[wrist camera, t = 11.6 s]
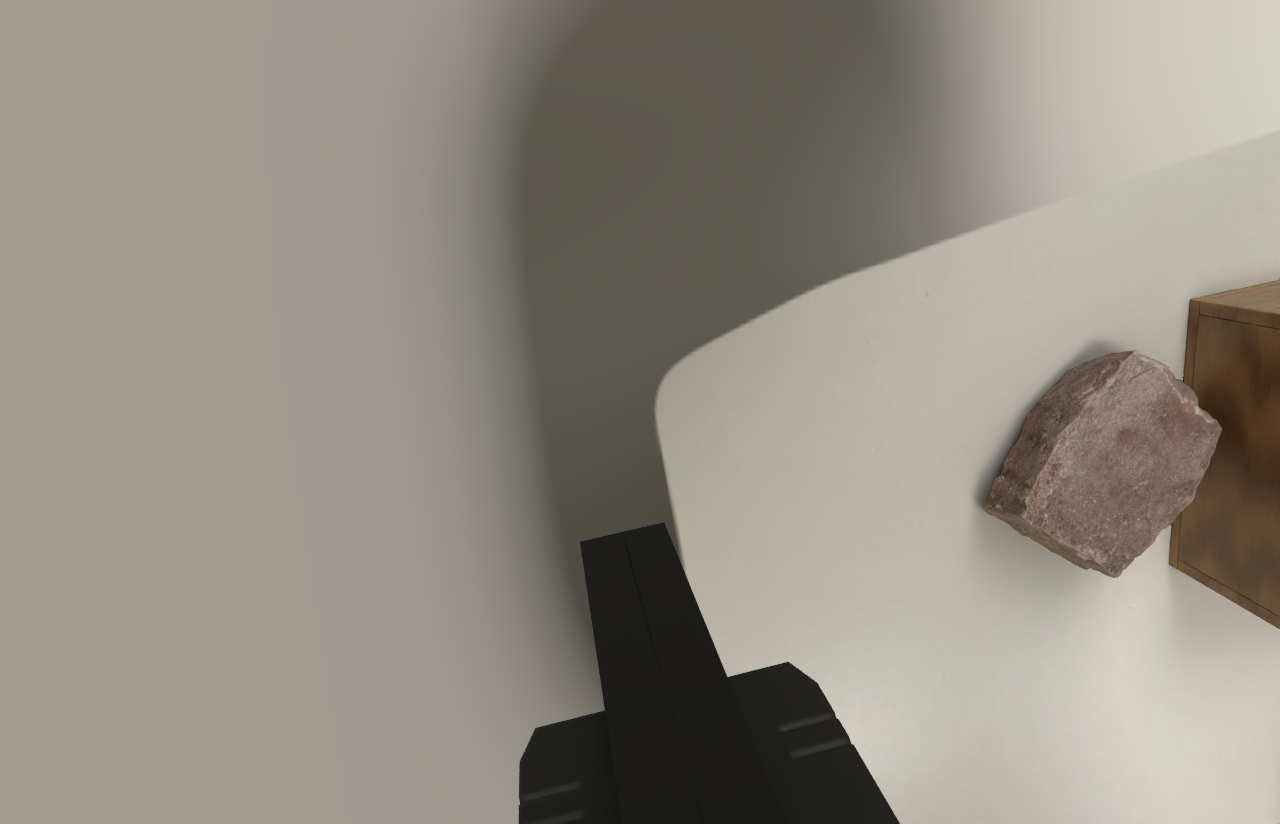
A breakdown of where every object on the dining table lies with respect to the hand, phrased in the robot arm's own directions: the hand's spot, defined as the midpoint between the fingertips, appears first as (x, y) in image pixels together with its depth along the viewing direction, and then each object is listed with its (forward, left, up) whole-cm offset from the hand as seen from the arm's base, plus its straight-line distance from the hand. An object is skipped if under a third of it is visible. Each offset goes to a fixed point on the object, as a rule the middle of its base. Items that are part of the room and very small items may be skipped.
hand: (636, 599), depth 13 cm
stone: (+13, +28, -25) cm, 39 cm away
